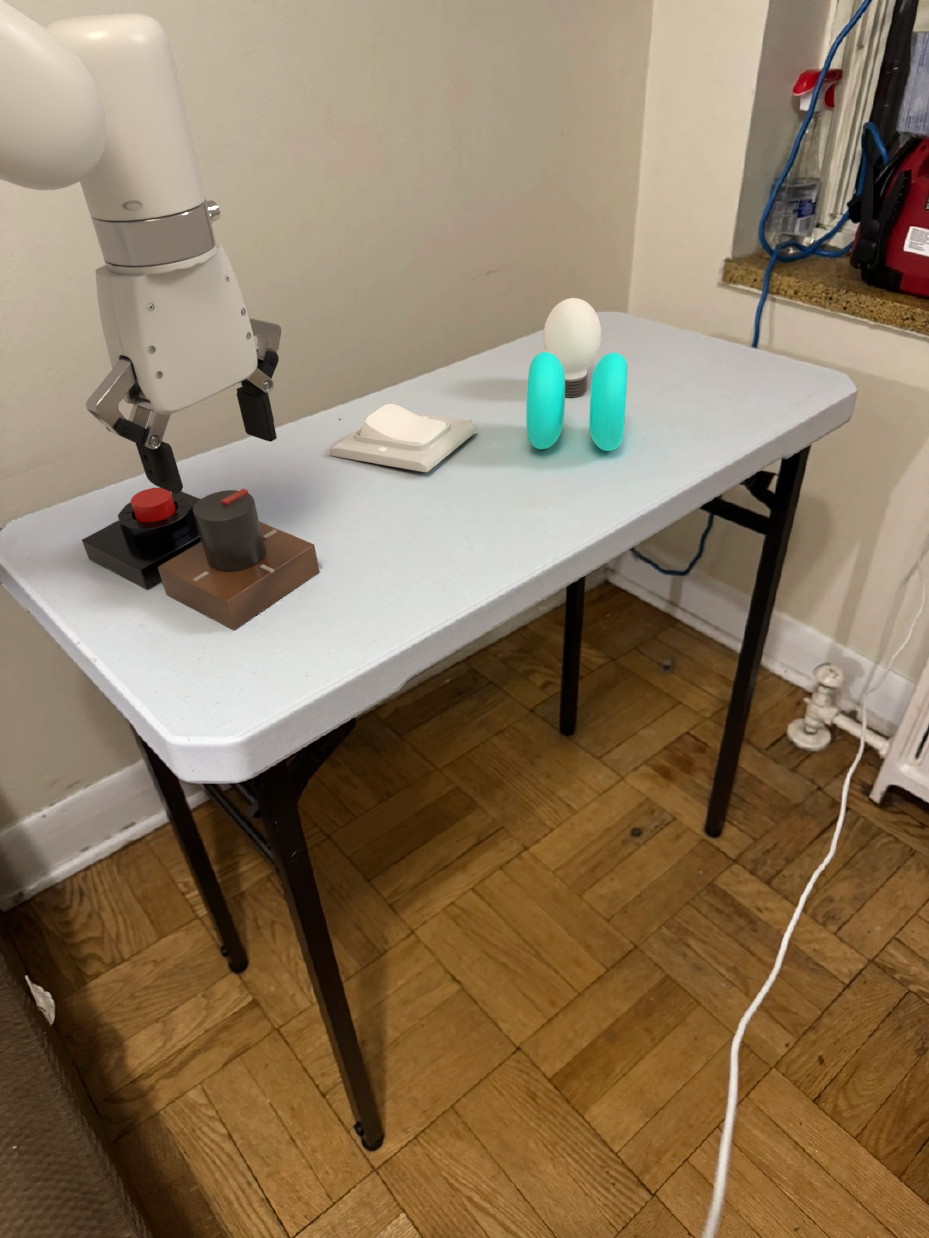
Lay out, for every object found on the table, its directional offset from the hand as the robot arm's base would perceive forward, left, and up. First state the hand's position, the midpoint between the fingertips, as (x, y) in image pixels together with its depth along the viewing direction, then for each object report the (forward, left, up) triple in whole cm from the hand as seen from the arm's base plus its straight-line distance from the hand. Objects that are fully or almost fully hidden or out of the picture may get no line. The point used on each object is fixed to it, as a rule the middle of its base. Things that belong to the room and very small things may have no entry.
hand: (216, 461), depth 69 cm
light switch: (+28, +5, -12) cm, 31 cm away
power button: (0, +11, -8) cm, 14 cm away
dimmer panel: (0, 0, -12) cm, 12 cm away
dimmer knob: (0, 0, -9) cm, 9 cm away
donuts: (+38, -11, -12) cm, 41 cm away
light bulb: (+50, -3, -12) cm, 51 cm away
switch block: (0, +11, -12) cm, 16 cm away
